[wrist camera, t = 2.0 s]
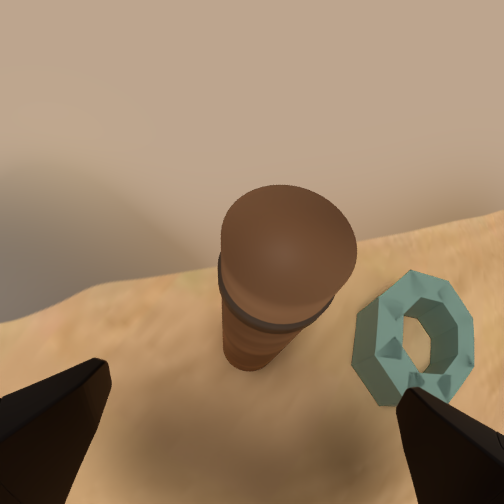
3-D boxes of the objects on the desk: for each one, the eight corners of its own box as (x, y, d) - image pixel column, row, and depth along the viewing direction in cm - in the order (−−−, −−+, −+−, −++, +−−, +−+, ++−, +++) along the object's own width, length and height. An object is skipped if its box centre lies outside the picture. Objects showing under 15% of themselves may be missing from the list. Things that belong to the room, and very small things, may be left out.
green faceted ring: (461, 355, 18) (487, 343, 15) (395, 431, 15) (424, 432, 12) (406, 273, 22) (428, 253, 19) (329, 334, 19) (348, 319, 16)
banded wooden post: (286, 355, 18) (385, 261, 7) (239, 382, 17) (270, 337, 5) (257, 311, 19) (304, 168, 8) (211, 336, 18) (191, 211, 7)
